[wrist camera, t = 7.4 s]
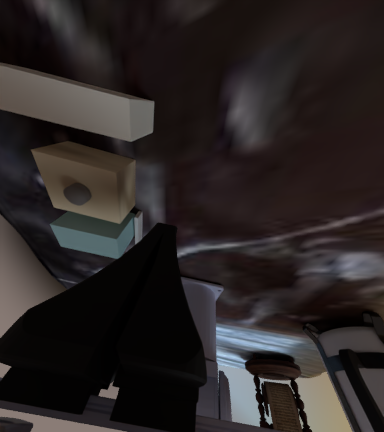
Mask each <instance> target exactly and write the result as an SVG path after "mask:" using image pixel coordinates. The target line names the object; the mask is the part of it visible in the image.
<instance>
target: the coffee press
mask: <svg viewBox="0 0 384 432" xmlns="http://www.w3.org/2000/svg"><path fill="white" fill-rule="evenodd" d="M362 317H363V324H362V325H361V326H360V327H343V328H337V329H332V330H329V331H321V330H319V329H317V328H316V327H315V326H313V325H312V324H310V323H306V324H305V325H304V326H303V331H304V332H305V333H306V334H307V335H308V336H309V337H310V338H311V339H312V340H313V341H314V343H315V344H316V348H317V350H318V352H319V355H320V357H321V360H322V362H323V364H324V367H325V369H326V371H327V374H328V376H329V378H330V381H331V383H332V385H333V387H334V390H335V392H336V394H337V397H338V399H339V401H340V404H341V406H342V408H343V411H344V413H345V415H346V418H347V420H348V422H349V424H350V427H351V429H352V431H353V432H384V325H383V321H382V318H381V317H380V315H379V314H377V313H375V312H363V313H362ZM306 326H307V327H309V328H310V329H311V330H313V331H314V332H316V333H318V334H320V335H319V336H318V337H317V338H316V337H315V336H314V335H313V334H312V333H311V332H310V331H309V330H308V329H307V327H306ZM372 326H373V327H374V328H373V327H372Z"/></svg>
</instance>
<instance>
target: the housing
mask: <svg viewBox="0 0 384 432" xmlns="http://www.w3.org/2000/svg"><path fill="white" fill-rule="evenodd" d="M31 151H32V154H33V156H34V159H35V161H36V164H37V166H38V169H39V171H40V174H41V176H42V179H43V181H44V184H45V186H46V189H47V191H48V194H49V196H50V199H51V201H52V204H53V206H54V207H55V208H59V209H63V210H67V211H71V212H75V213H79V214H83V215H87V216H91V217H95V218H98V219H102V220H106V221H110V222H114V223H118V224H120V223H121V222H122V221H123V220H124V218H125V217H126V216H127V214H128V213H129V212H130V211H131V209H132V208H133V207H134V206H135V160H134V159H131V158H127V157H124V156H120V155H116V154H113V153H109V152H106V151H102V150H98V149H95V148H91V147H88V146H84V145H80V144H77V143H73V142H70V141H66V142H62V143H57V144H53V145H49V146H45V147H41V148H37V149H32V150H31Z"/></svg>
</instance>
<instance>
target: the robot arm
mask: <svg viewBox="0 0 384 432" xmlns="http://www.w3.org/2000/svg"><path fill="white" fill-rule="evenodd" d="M176 233H177V227H176V226H172V225H167V224H163V223H157V224H156V225H155V226H154V227H153V228H152V229H151V231H150V232H149V233H148V234H147V235H146V236H144V237H143V238H142V239H141V240H140V241H139V242H138V243H137V244H136V245H134V246H133V247H132V248H131V249H130V250H128V251H127V252H126V253H125V254H123V255H122V256H121V257H119V258H118V259H117V260H115V261H114V262H112V263H111V264H110V265H108V266H106V267H105V268H103V269H102V270H100V271H99V272H97V273H96V274H94V275H92V276H91V277H89V278H87V279H86V280H84V281H82V282H80V283H78V284H77V285H75V286H73V287H71V288H70V289H68V290H66V291H64V292H62V293H60V294H58V295H56V296H54V297H52V298H50V299H48V300H46V301H44V302H42V303H40V304H38V305H36V306H34V307H32V308H30V309H28V310H27V311H26V313H24V314H23V315H22V316H21V317H20V318H19V319H18V320H17V321H16V322H15V323H14V324H13V325H12V326H11V327H10V328H9V329H8V331H7V332H6V333H5V334H4V335H3V336H2V337H1V338H0V363H3V364H6V365H9V366H11V368H10V369H9V371H8V372H7V373H6V374H5V376H4V377H3V378H0V408H2V409H7V410H13V411H18V412H24V413H29V414H35V415H40V416H46V417H51V418H56V419H62V420H67V421H73V422H78V423H84V424H89V425H95V426H100V427H106V428H111V429H117V430H122V431H127V432H284V431H278V430H273V429H268V428H263V427H257V426H252V425H247V424H242V423H237V422H232V415H231V401H230V390H229V382H228V379H227V377H226V376H225V375H224V372H223V371H219V383H218V367H217V366H218V365H217V362H216V306H215V301H216V300H217V298H218V297H219V295H220V294H221V293H222V291H223V290H224V287H223V286H221V285H217V284H212V283H208V282H203V281H198V280H194V279H189V278H185V277H181V276H180V271H179V265H178V259H177V249H176ZM113 381H114V382H113ZM112 382H113V386H114V387H119V391H118V395H117V398H116V399H111V398H105V397H100V396H98V395H99V393H100V390H101V389H106V390H107V389H108V388H109V385H110V383H112ZM32 428H33V423H30V422H27V421H24V420H21V419H16V418H8V417H0V432H30V431H31V429H32Z"/></svg>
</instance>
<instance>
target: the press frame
mask: <svg viewBox="0 0 384 432" xmlns="http://www.w3.org/2000/svg"><path fill="white" fill-rule="evenodd" d="M0 109H2V110H6V111H10V112H14V113H18V114H22V115H26V116H30V117H34V118H38V119H42V120H46V121H50V122H54V123H58V124H62V125H66V126H70V127H74V128H78V129H82V130H86V131H90V132H94V133H98V134H101V135H105V136H109V137H113V138H117V139H121V140H125V141H129V142H132V141H134V140H136V139H139V138H141V137H143V136H146V135H148V134H150V133H153V118H154V101H150V100H147V99H143V98H139V97H135V96H131V95H128V94H124V93H120V92H116V91H112V90H108V89H105V88H101V87H97V86H93V85H89V84H86V83H82V82H78V81H74V80H70V79H67V78H63V77H59V76H55V75H51V74H47V73H44V72H40V71H36V70H32V69H28V68H24V67H19V66H14V65H10V64H5V63H0ZM134 221H135V245H136V244H137V243H138V242H139V241H140V240H141V239H142V211H138V213H137V214H136V216H135V217H134Z"/></svg>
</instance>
